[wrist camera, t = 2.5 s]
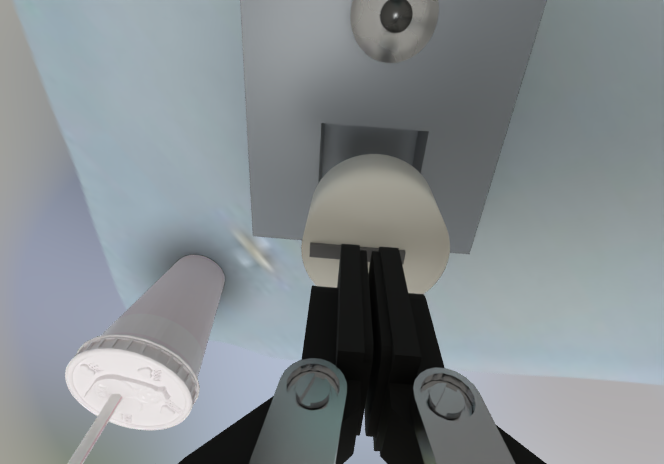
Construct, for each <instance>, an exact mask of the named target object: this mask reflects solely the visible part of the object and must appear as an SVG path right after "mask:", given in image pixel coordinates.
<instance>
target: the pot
mask: <svg viewBox="0 0 664 464" xmlns="http://www.w3.org/2000/svg"><path fill="white" fill-rule="evenodd" d="M438 13H439V4H438V0H353V1H352V5H351V16H350V19H351V27H352V32H353V35H354V37H355V39H356V42H357V43H358V45H359V46H360V48H361V49H362V50H363V51H364V52H365V53H366V54H367V55H368V56H370V57H371V58H373V59H375V60H377V61H380V62H385V63H397V62H401V61H405V60H407V59H409V58H411V57H413V56H414V55H416V54H417V53H418V52H420V51H421V50H422V49H423V48H424V47H425V45H426V44H427V43H428V41H429V40H430V38H431V36H432V34H433V32H434V30H435V27H436V24H437V20H438Z"/></svg>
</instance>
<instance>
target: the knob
mask: <svg viewBox="0 0 664 464" xmlns="http://www.w3.org/2000/svg"><path fill="white" fill-rule="evenodd" d="M341 244H353V245H360V250H366V251H367V262H368V273H369V266H370V259H371V253H372V251H378V250H379V247H393V248H399V251H400V256H401V261H402V266H403V270H404V275H405V280H406V284H407V289H408V293H415V294H424V293H426V292H427V291H428V290H429V289H430V288H431V287H432V286H433V285H434V284H435V283H436V282H437V281H438V279H439V278H440V277H441V275H442V273H443V272H444V270H445V268H446V265H447V262H448V259H449V253H450V240H449V234H448V231H447V228H446V225H445V223H444V220H443V218H442V216H441V213H440V211H439V208H438V206H437V204H436V201H435V199H434V197H433V194H432V192H431V189H430V187H429V185H428V183H427V182H426V180H425V179H424V177H423V176H422V175H421V174H420V173H419V172H418V170H416V169H415V168H414V167H413V166H411V165H410V164H408V163H406V162H405V161H403V160H400V159H398V158H396V157H392V156H388V155H382V154H366V155H359V156H355V157H352V158H349V159H347V160H344V161H343V162H341V163H339V164H337V165H336V166H334V167H333V168H332V169H330V170H329V171H328V172H327V173H326V174H325V175H324V176H323V178H322V179H321V180H320V182H319V183H318V185H317V187H316V189H315V191H314V194H313V197H312V201H311V205H310V209H309V214H308V218H307V222H306V226H305V230H304V234H303V239H302V247H301V249H302V259H303V263H304V266H305V269H306V271H307V273H308V275H309V277H310V278H311V280H312V281H313V282H314V284H315V285H316V286H322V287H335V288H337V284H338V273H339V262H340V251H341Z"/></svg>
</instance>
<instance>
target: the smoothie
mask: <svg viewBox="0 0 664 464" xmlns="http://www.w3.org/2000/svg"><path fill="white" fill-rule="evenodd" d="M224 283H225V276H224V273H223V271H222V269H221V268H220V267H219V265H218V264H217V263H215V262H214V261H213V260H211V259H209V258H207V257H204V256H201V255H187V256H184V257H182V258H180V259H179V260H178V261H177V262H176V263H175V264H174V265H173V266H172V267H171V268H170V269H169V270H168V271H167V272H166V273H165V274H164V275H163V276H162V277H161V278H160V279H159V280H158V281H157V282H156V283H154V284H153V285H152V286H151V287H150V288H149V289H148V290H147V291H146V292H145V293H144V294H143V295H142V296H141V297H140V298H139V299H138V300H137V301H136V302H135V303H134V304H133V305H132V306H131V307H130V308H129V309H128V310H127V311H126V312H125V313H124V314H123V315H122V316H121V317H119V318H118V320H116V321H115V322H114V323H113V324H112V325H111V326H110V327H109V328H108V329H107V330H106V331H105V332H104V333H103V334H102V335H101V336H97V337H95V338H93V339H91V340H89V341H87V342H85V343H84V344H83V345H82V346H81V348H79V349H78V351H77V354H76V355H75V356H74V358H73V359H72V360H71V361H70V362H69V364H68V365H67V367H66V371H65V379H66V383H67V386H68V388H69V390H70V392H71V393H72V395H73V396H74V397H75V399H76V400H77V401H78V402H79V403H80V404H81V405H83V406H84V407H85V408H86V409H87V410H89V411H90V412H92V413H93V414H95V415H96V416H98V417H97V418H96V420H95V421H94V423H93V424H92V426H91V428H90V429H89V430H88V432H87V434H86V435H85V437H84V438H83V440H82V441H81V443H80V444H79V446H78V447H77V449H76V451H75V452H74V454H73V455H72V457H71V458H70V460H69V461H68V463H67V464H83V463H84V461H85V460H86V458H87V456H88V455H89V453H90V451H91V449H92V448H93V446H94V445H95V443H96V441H97V440H98V438H99V437H100V435H101V433H102V432H103V430H104V428H105V427H106V425H107V423H108V422H111V423H114V424H117V425H120V426H123V427H127V428H132V429H139V430H160V429H165V428H170V427H172V426H175V425H177V424H179V423H181V422H182V421H183V420H185V419H186V418H187V416H188V415H189V414H190V411H191V409H192V407H193V404H194V403H195V401H196V400H197V398H198V395H199V388H200V386H199V383H198V379H197V377H198V374H199V371H200V368H201V364H202V360H203V357H204V353H205V349H206V346H207V343H208V339H209V336H210V332H211V329H212V325H213V322H214V318H215V315H216V311H217V308H218V304H219V301H220V297H221V294H222V290H223V287H224Z"/></svg>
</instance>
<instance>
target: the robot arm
mask: <svg viewBox="0 0 664 464" xmlns="http://www.w3.org/2000/svg"><path fill="white" fill-rule="evenodd" d="M364 408H365V432H366V436H371V437H372V436H373V440H374V451H380V456H381V457H382V458H383V460H384V461H386V463H387V464H546V463H545V462H543V461H542V460H541V459H540V458H538V457H537V456H536V455H534V454H533V453H532V452H530V451H529V450H528V449H527V448H525V447H524V446H523V445H521V444H520V443H519V442H517V441H516V440H515V439H513V438H512V437H511V436H510V435H508V434H507V433H505V432H504V431H503V430H502V429H501V428H499V427H498V426H497V425H496V424H495V422H494V421H493V419H492V417H491V415H490V413H489V411H488V409H487V407H486V405H485V403H484V401H483V399H482V397H481V395H480V393H479V392H478V390H477V389H476V387H475V386H474V385H473V384H472V383H471V382H470V381H469V380H468V379H467V378H466V377H464V376H462V375H461V374H459V373H457V372H455V371H452V370H449V369H446V368H444V364H443V361H442V357H441V353H440V349H439V346H438V342H437V338H436V335H435V331H434V327H433V323H432V320H431V316H430V312H429V309H428V305H427V301H426V298H425V296H424V295H423V294H415V293H408V289H407V284H406V280H405V275H404V270H403V266H402V261H401V256H400V251H399V248H393V247H379V250H378V251H372V253H371V259H370V266H369V273H368V262H367V251H366V250H360V245H353V244H341V251H340V262H339V273H338V284H337V288H335V287H322V286H312V289H311V296H310V303H309V310H308V318H307V325H306V332H305V340H304V347H303V354H302V360H300V361H298V362H295V363H293V364H292V365H291V366H290V367H288V368H287V369H286V370H285V371H284V373H283V375H282V377H281V378H280V381H279V384H278V386H277V389H276V392H275V394H274V396H273V397H272V398H270V399H269V400H267V401H266V402H264V403H263V404H261V405H260V406H259V407H257V408H256V409H254V410H253V411H251V412H250V413H249V414H247V415H246V416H244V417H243V418H241V419H240V420H238V421H237V422H236V423H234V424H233V425H231V426H230V427H229V428H227V429H225V430H224V431H223V432H221V433H220V434H218V435H217V436H215V437H214V438H212V439H211V440H210V441H208V442H207V443H205V444H204V445H203V446H201V447H199V448H198V449H197V450H195V451H194V452H192V453H191V454H189V455H188V456H187V457H185V458H184V459H183V460H182V461H180V462H179V463H178V464H343V463H344V462H345V461H346V460H348V459H349V457H351V456H352V454H353V451H354V445H355V439H356V435H360V431H361V425H362V420H363V414H364Z"/></svg>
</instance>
